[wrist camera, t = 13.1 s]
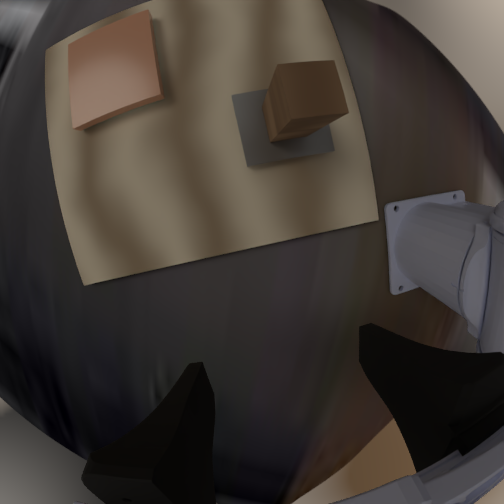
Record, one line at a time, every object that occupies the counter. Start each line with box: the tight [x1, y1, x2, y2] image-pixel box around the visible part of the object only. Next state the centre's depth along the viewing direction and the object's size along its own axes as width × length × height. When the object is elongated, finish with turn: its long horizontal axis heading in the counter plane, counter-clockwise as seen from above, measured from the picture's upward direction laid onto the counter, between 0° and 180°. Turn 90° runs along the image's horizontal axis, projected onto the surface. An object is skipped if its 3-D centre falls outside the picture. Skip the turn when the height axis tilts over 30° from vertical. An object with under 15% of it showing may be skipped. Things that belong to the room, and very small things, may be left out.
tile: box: [68, 9, 165, 131], centre depth 15 cm, size 7×2×8 cm
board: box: [45, 0, 379, 285], centre depth 18 cm, size 24×22×1 cm
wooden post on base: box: [232, 60, 349, 167], centre depth 14 cm, size 6×5×8 cm
